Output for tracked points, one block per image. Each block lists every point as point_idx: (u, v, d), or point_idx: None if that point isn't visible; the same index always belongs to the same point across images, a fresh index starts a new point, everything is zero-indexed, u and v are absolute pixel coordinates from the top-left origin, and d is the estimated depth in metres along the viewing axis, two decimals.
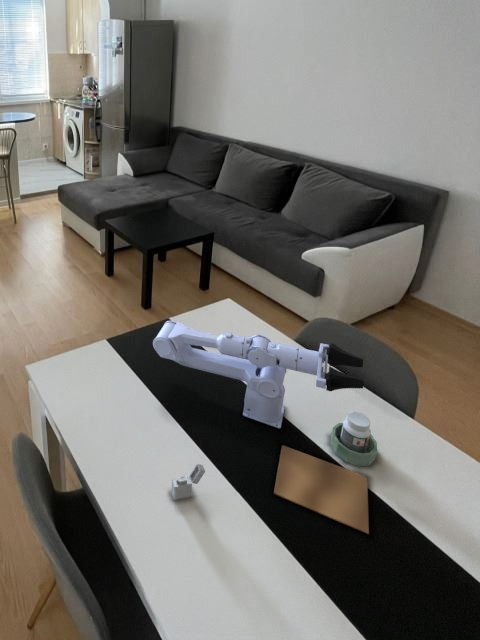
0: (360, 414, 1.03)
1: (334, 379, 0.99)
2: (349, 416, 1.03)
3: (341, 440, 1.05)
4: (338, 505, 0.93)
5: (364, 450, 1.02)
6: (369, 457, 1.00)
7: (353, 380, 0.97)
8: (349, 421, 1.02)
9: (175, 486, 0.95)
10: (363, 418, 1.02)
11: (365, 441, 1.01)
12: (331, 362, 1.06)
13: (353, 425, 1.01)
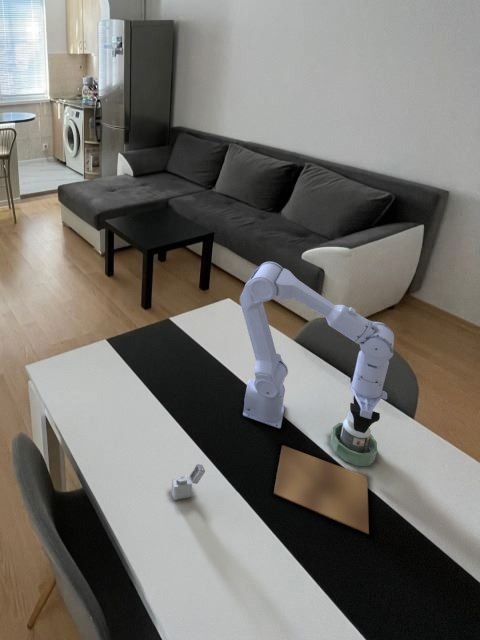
0: None
1: None
2: (349, 416, 1.03)
3: (341, 440, 1.05)
4: (338, 505, 0.93)
5: (364, 450, 1.02)
6: (369, 457, 1.00)
7: (365, 427, 0.97)
8: (349, 421, 1.02)
9: (175, 486, 0.95)
10: None
11: (365, 441, 1.01)
12: None
13: (353, 425, 1.01)
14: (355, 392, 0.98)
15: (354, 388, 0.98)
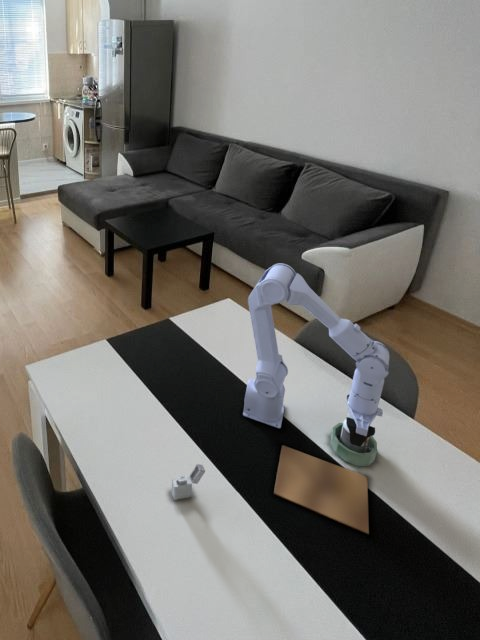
0: None
1: None
2: (349, 416, 1.03)
3: (340, 440, 1.05)
4: (338, 505, 0.93)
5: (364, 450, 1.02)
6: (369, 457, 1.00)
7: (360, 441, 1.00)
8: None
9: (175, 486, 0.95)
10: None
11: (365, 441, 1.01)
12: None
13: None
14: (351, 409, 0.99)
15: (350, 405, 1.00)
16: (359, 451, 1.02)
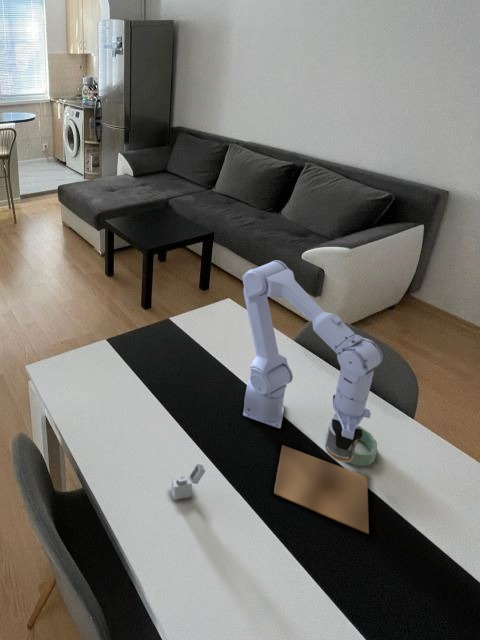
0: None
1: None
2: (335, 418, 0.96)
3: (326, 443, 0.98)
4: (338, 505, 0.93)
5: (351, 454, 0.95)
6: (369, 457, 1.00)
7: (347, 444, 0.93)
8: None
9: (175, 486, 0.95)
10: None
11: (352, 445, 0.94)
12: None
13: None
14: (337, 410, 0.93)
15: (336, 406, 0.93)
16: (346, 455, 0.95)
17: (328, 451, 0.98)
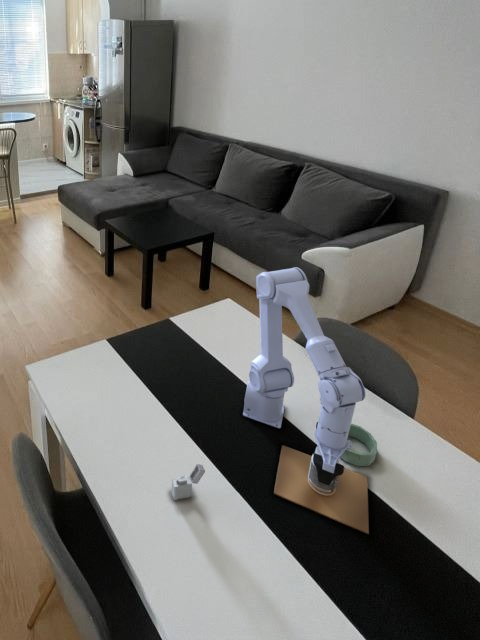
0: None
1: None
2: (317, 450, 0.94)
3: (309, 475, 0.97)
4: (338, 505, 0.93)
5: (333, 487, 0.94)
6: (369, 457, 1.00)
7: (329, 479, 0.91)
8: None
9: (175, 486, 0.95)
10: None
11: (334, 478, 0.93)
12: None
13: None
14: (319, 441, 0.91)
15: (318, 437, 0.92)
16: (328, 488, 0.94)
17: (310, 483, 0.96)
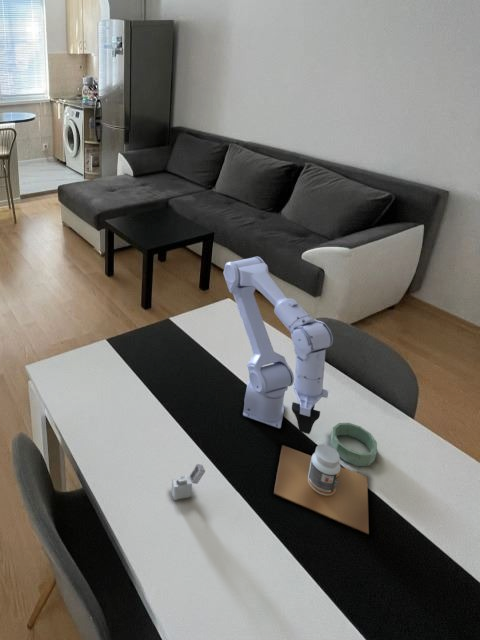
0: (329, 448, 0.95)
1: None
2: (317, 450, 0.94)
3: (309, 475, 0.97)
4: (338, 505, 0.93)
5: (333, 487, 0.94)
6: (369, 457, 1.00)
7: (308, 427, 0.97)
8: (317, 456, 0.94)
9: (175, 486, 0.95)
10: (332, 453, 0.94)
11: (334, 478, 0.93)
12: None
13: (321, 460, 0.93)
14: (297, 391, 0.98)
15: (296, 387, 0.99)
16: (328, 488, 0.94)
17: (310, 483, 0.96)
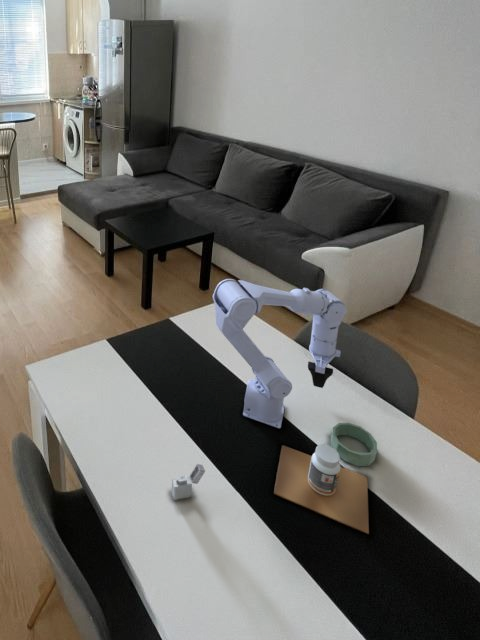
0: (329, 448, 0.95)
1: None
2: (317, 450, 0.94)
3: (309, 475, 0.97)
4: (338, 505, 0.93)
5: (333, 487, 0.94)
6: (369, 457, 1.00)
7: (322, 382, 1.10)
8: (317, 456, 0.94)
9: (175, 486, 0.95)
10: (332, 453, 0.94)
11: (334, 478, 0.93)
12: None
13: (321, 460, 0.93)
14: (312, 352, 1.10)
15: (311, 348, 1.11)
16: (328, 488, 0.94)
17: (310, 483, 0.96)
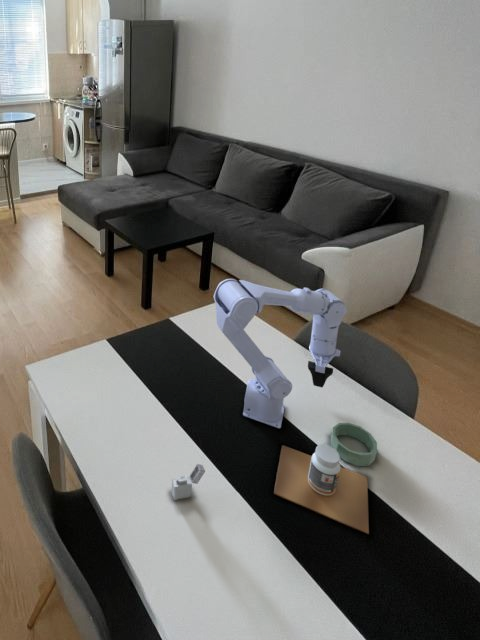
0: (329, 448, 0.95)
1: None
2: (317, 450, 0.94)
3: (309, 475, 0.97)
4: (338, 505, 0.93)
5: (333, 487, 0.94)
6: (369, 457, 1.00)
7: (322, 382, 1.10)
8: (317, 456, 0.94)
9: (175, 486, 0.95)
10: (332, 453, 0.94)
11: (334, 478, 0.93)
12: None
13: (321, 460, 0.93)
14: (312, 351, 1.10)
15: (311, 348, 1.11)
16: (328, 488, 0.94)
17: (310, 483, 0.96)
